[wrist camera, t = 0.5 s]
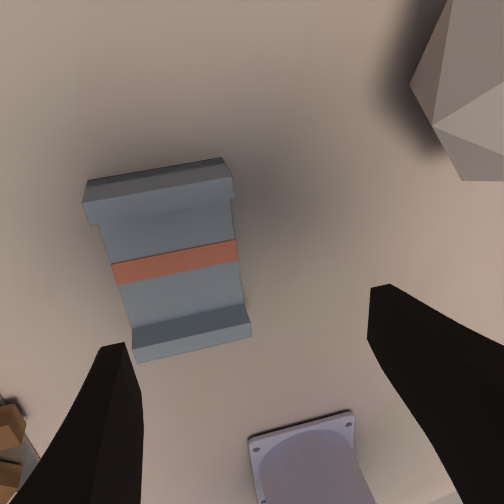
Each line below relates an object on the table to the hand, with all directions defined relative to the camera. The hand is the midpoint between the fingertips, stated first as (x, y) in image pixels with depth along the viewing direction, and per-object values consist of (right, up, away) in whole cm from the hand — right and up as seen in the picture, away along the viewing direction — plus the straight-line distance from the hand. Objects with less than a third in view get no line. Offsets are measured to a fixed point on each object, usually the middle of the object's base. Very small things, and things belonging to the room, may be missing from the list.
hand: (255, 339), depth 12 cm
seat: (-4, +2, +9) cm, 10 cm away
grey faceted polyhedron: (+10, +11, +8) cm, 17 cm away
